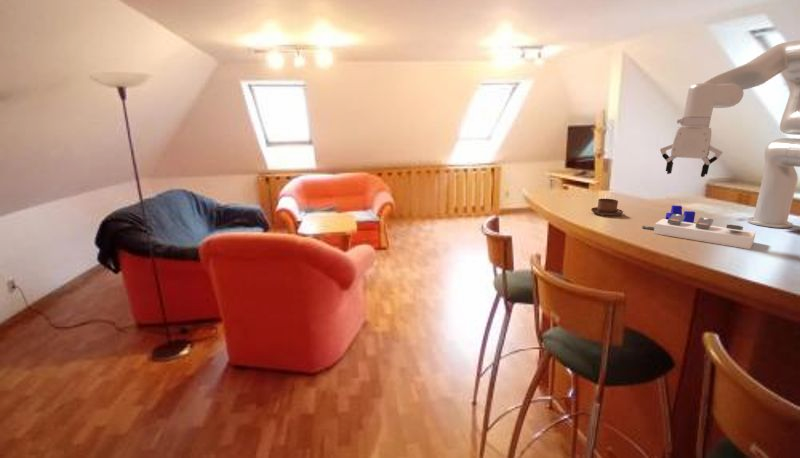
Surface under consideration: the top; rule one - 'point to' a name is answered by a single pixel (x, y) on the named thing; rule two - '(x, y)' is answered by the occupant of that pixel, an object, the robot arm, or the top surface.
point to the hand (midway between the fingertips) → (685, 175)
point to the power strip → (705, 233)
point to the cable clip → (678, 210)
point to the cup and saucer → (607, 207)
